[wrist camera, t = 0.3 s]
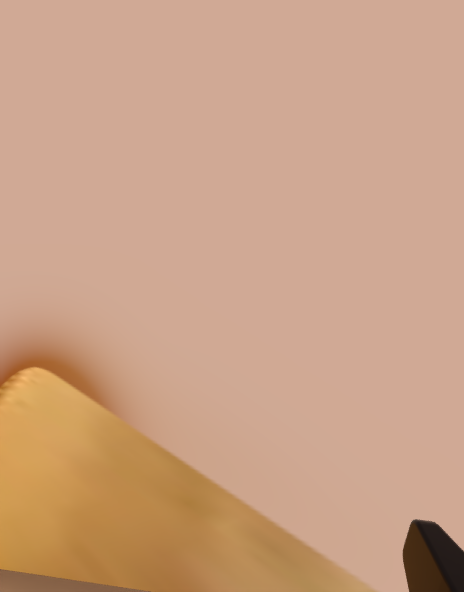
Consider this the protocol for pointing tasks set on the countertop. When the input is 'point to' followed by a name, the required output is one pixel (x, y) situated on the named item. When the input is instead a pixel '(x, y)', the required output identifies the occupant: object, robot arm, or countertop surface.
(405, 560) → the robot arm
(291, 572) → the countertop surface
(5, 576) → the tray frame
